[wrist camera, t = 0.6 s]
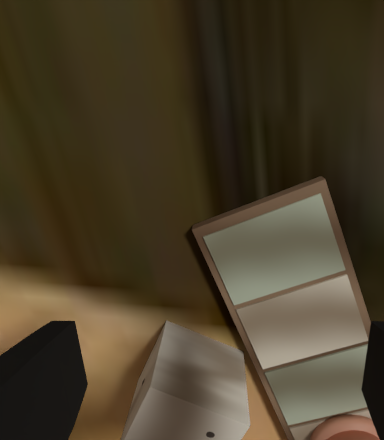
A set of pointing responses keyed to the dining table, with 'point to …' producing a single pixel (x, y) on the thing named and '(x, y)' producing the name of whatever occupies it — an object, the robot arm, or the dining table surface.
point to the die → (189, 390)
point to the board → (293, 302)
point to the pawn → (345, 429)
